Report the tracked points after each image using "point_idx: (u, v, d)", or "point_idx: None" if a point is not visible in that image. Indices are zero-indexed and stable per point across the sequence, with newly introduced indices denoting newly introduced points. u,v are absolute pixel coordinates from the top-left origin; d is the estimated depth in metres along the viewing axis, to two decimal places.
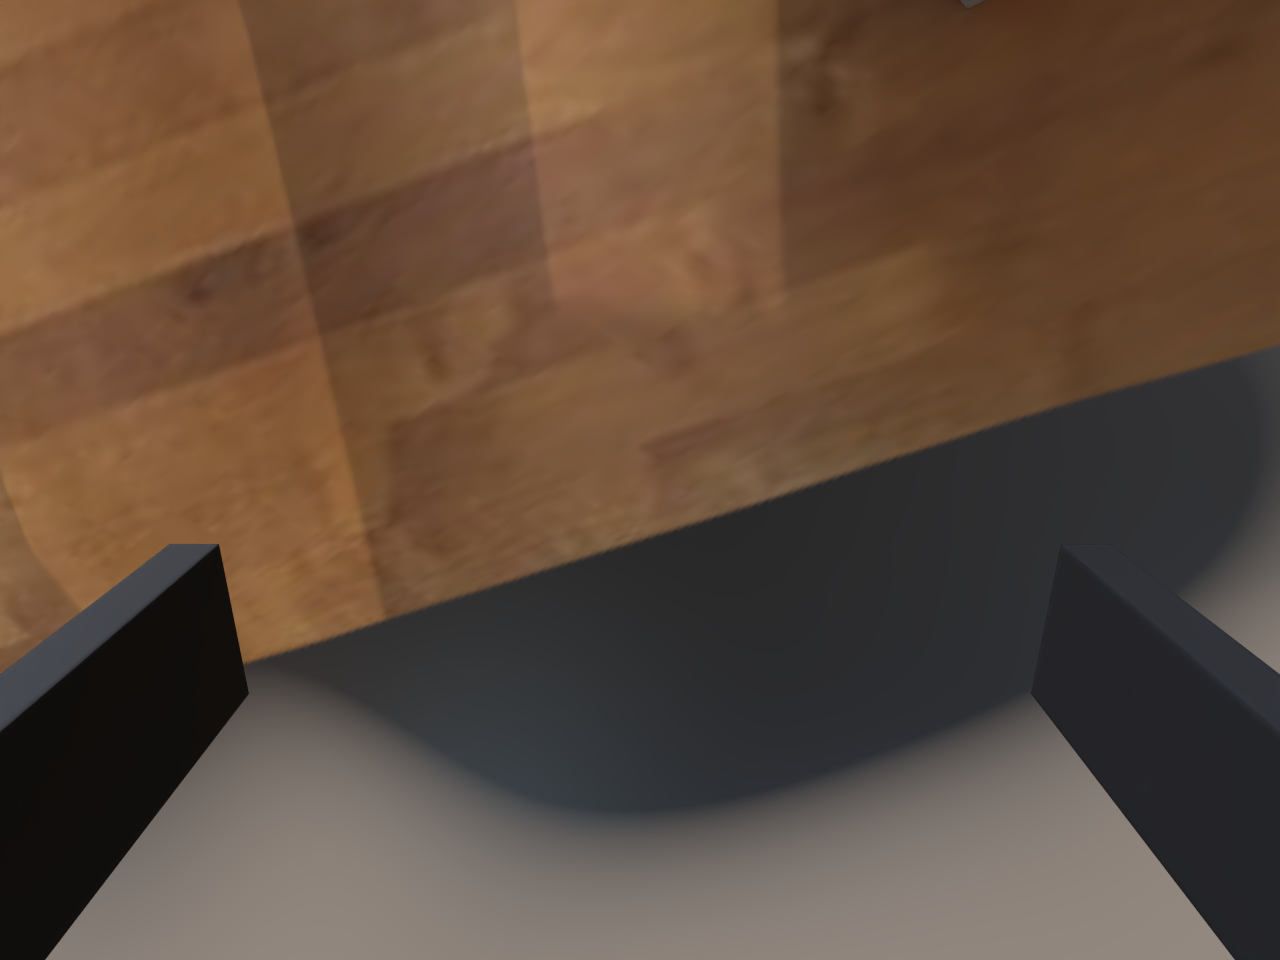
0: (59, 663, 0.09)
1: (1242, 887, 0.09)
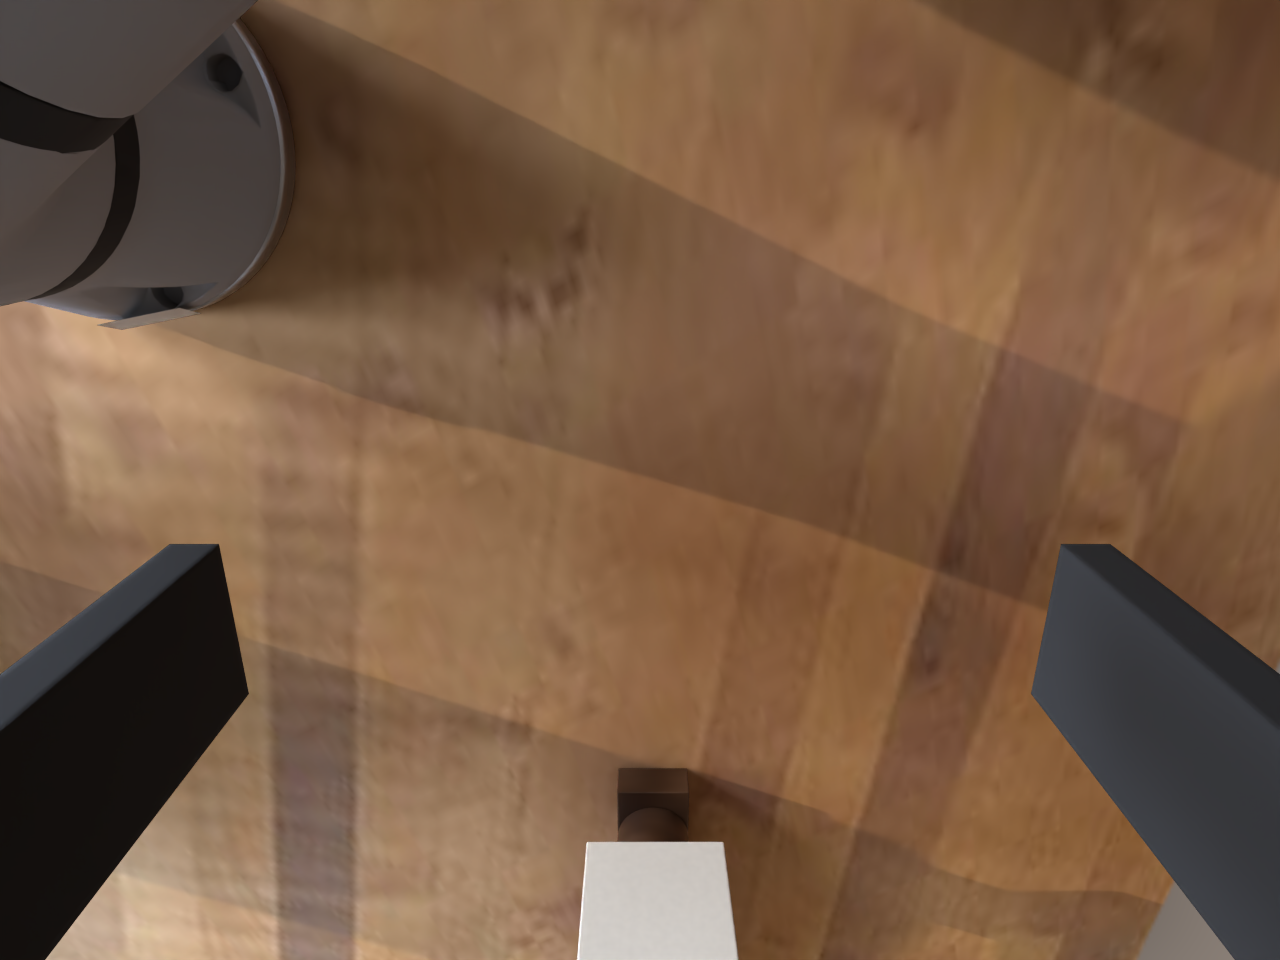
0: (59, 663, 0.09)
1: (1242, 888, 0.09)
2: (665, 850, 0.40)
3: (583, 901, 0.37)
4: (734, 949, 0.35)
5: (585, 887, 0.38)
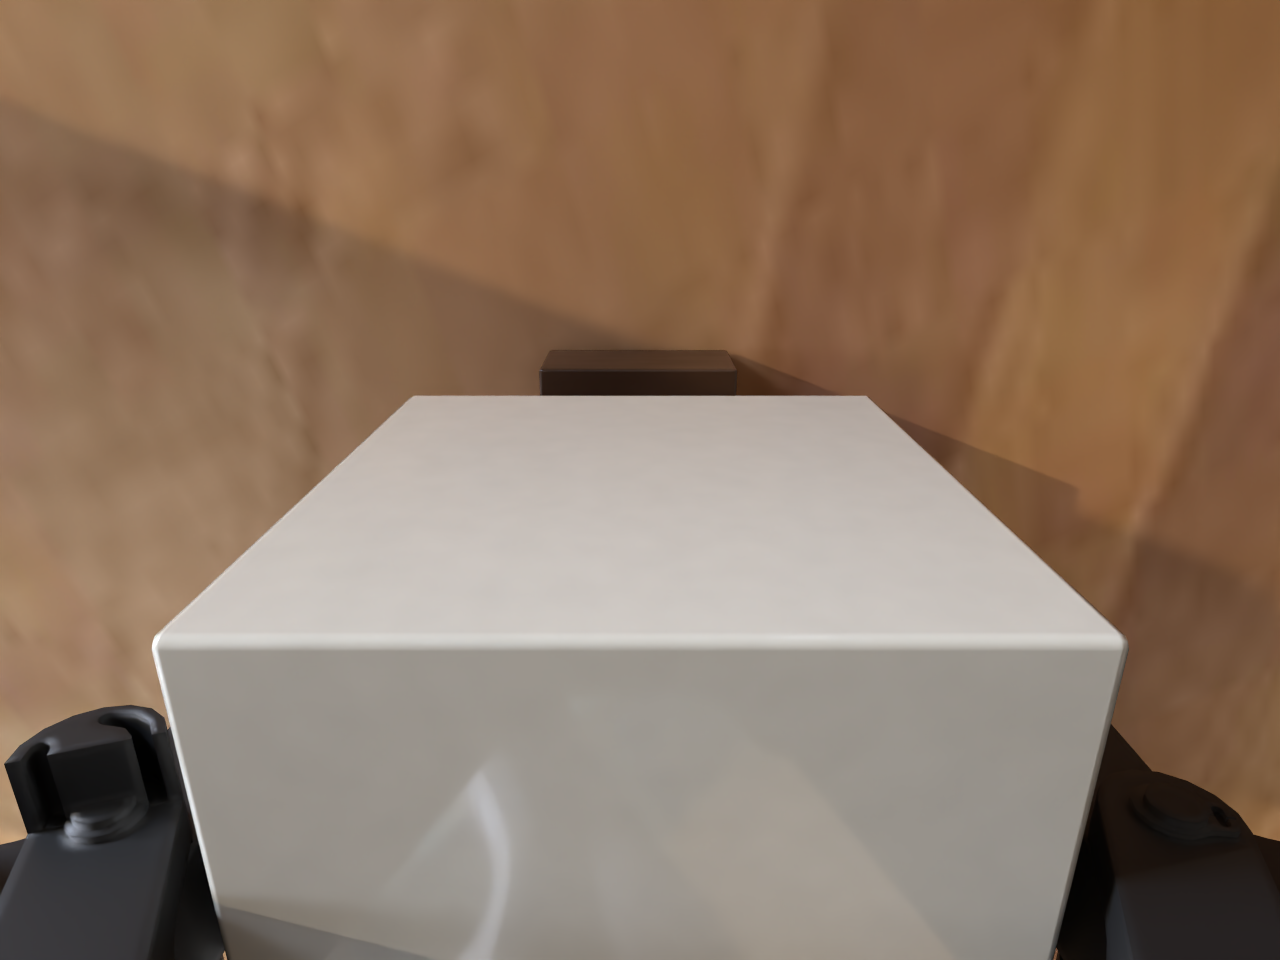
0: None
1: None
2: (674, 405, 0.12)
3: (327, 477, 0.09)
4: (1056, 583, 0.06)
5: (356, 454, 0.10)
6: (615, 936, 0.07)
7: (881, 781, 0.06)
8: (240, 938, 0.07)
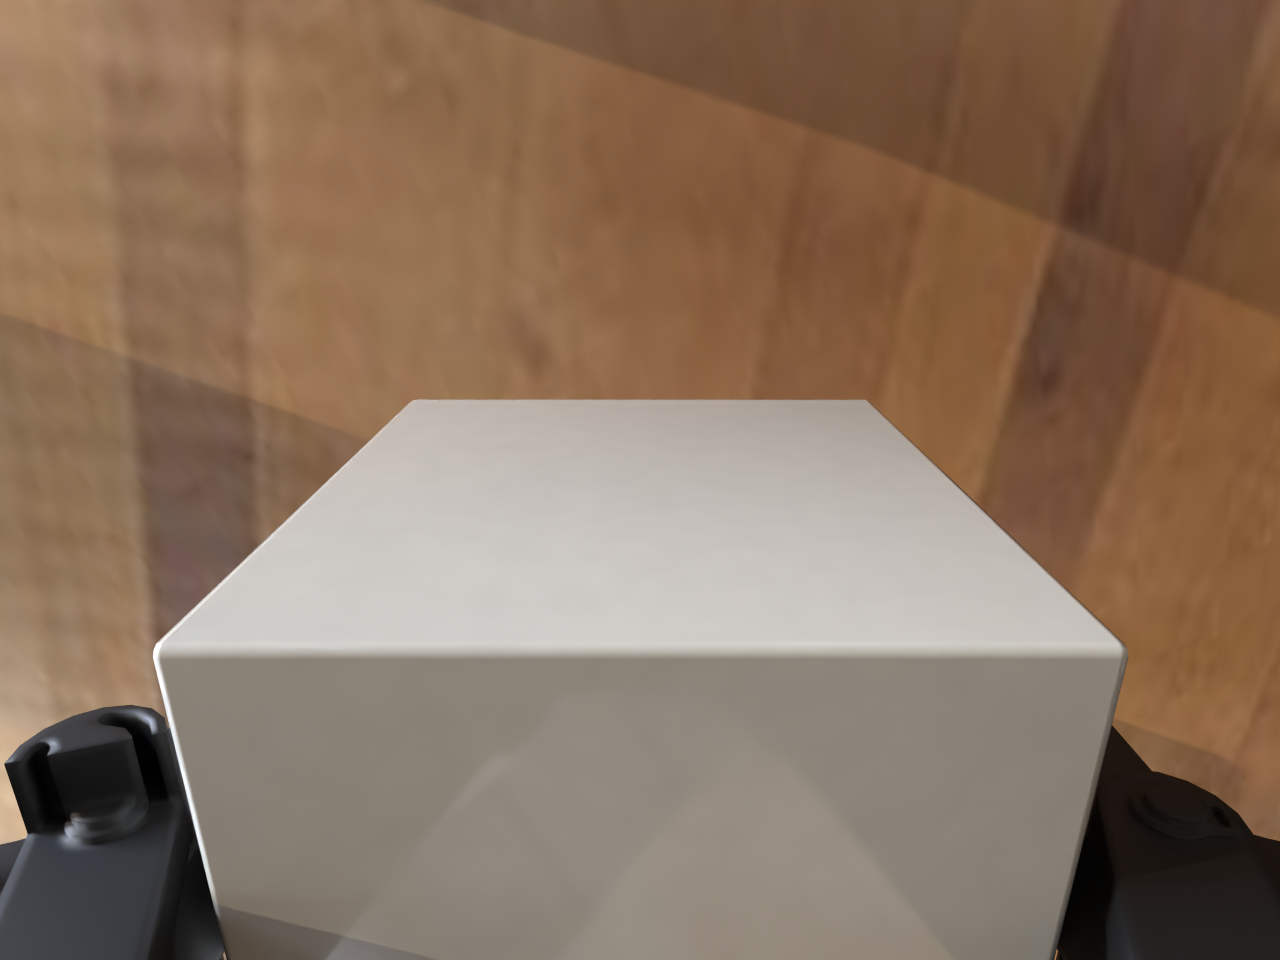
0: None
1: None
2: (674, 409, 0.12)
3: (328, 482, 0.09)
4: (1055, 592, 0.06)
5: (356, 459, 0.10)
6: (617, 942, 0.07)
7: (880, 788, 0.06)
8: (242, 944, 0.07)
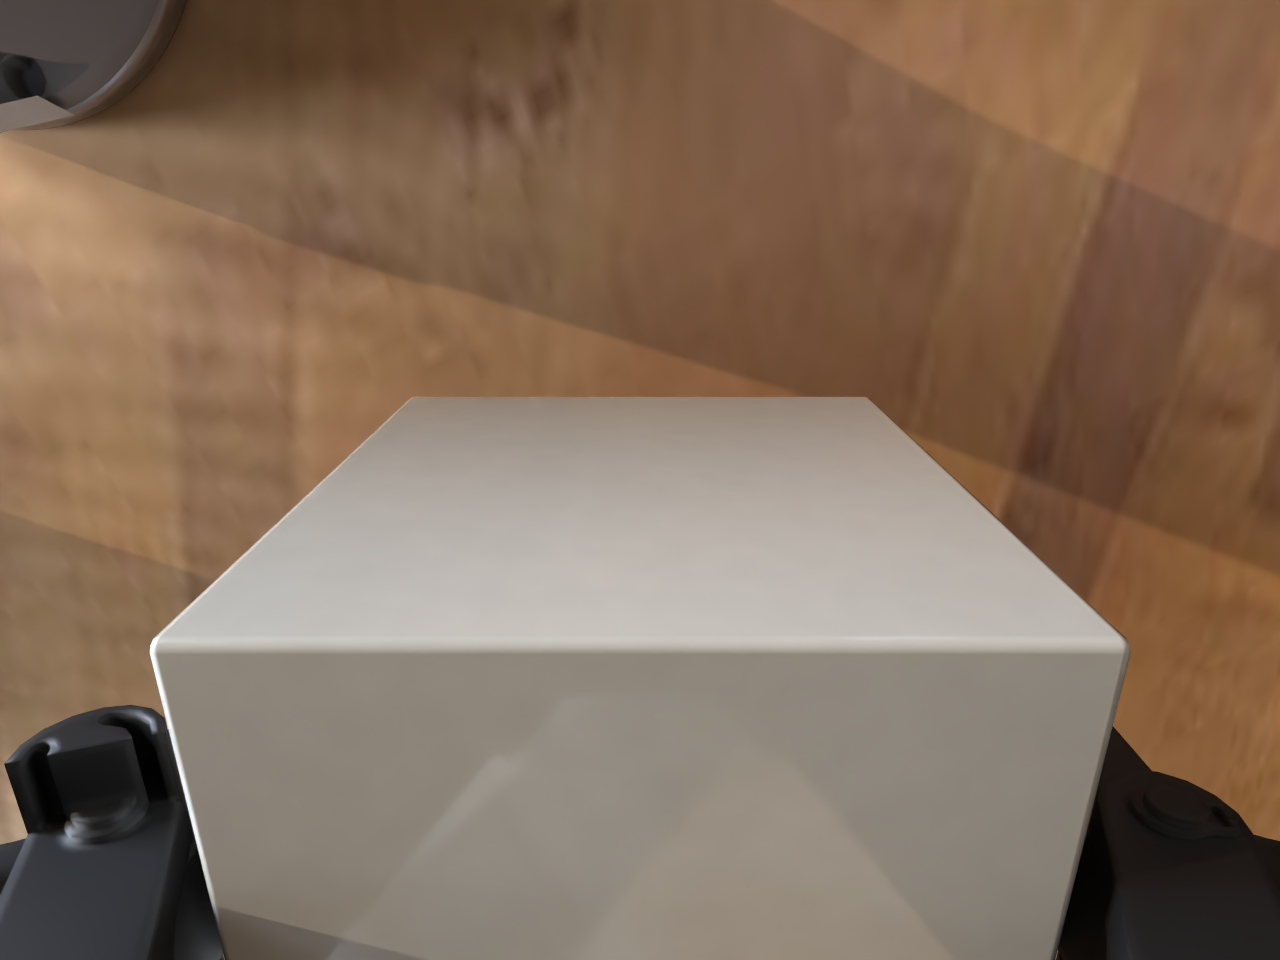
0: None
1: None
2: (674, 406, 0.12)
3: (327, 478, 0.09)
4: (1057, 586, 0.06)
5: (355, 456, 0.10)
6: (615, 940, 0.07)
7: (882, 784, 0.06)
8: (239, 942, 0.07)
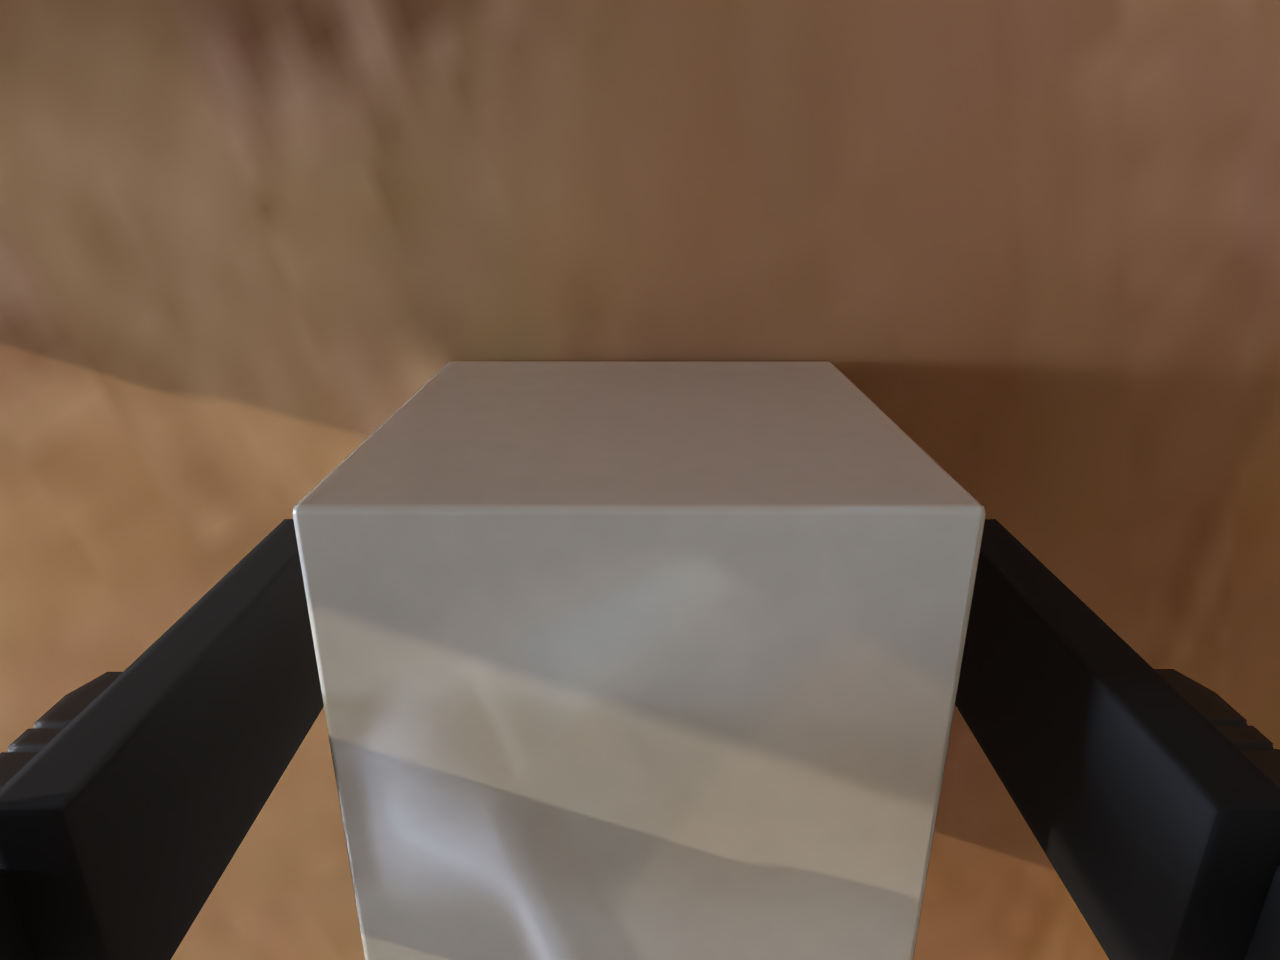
0: (219, 620, 0.10)
1: (1070, 819, 0.09)
2: (668, 368, 0.14)
3: (392, 415, 0.11)
4: (944, 479, 0.09)
5: (411, 401, 0.12)
6: (621, 741, 0.09)
7: (812, 616, 0.08)
8: (343, 742, 0.09)
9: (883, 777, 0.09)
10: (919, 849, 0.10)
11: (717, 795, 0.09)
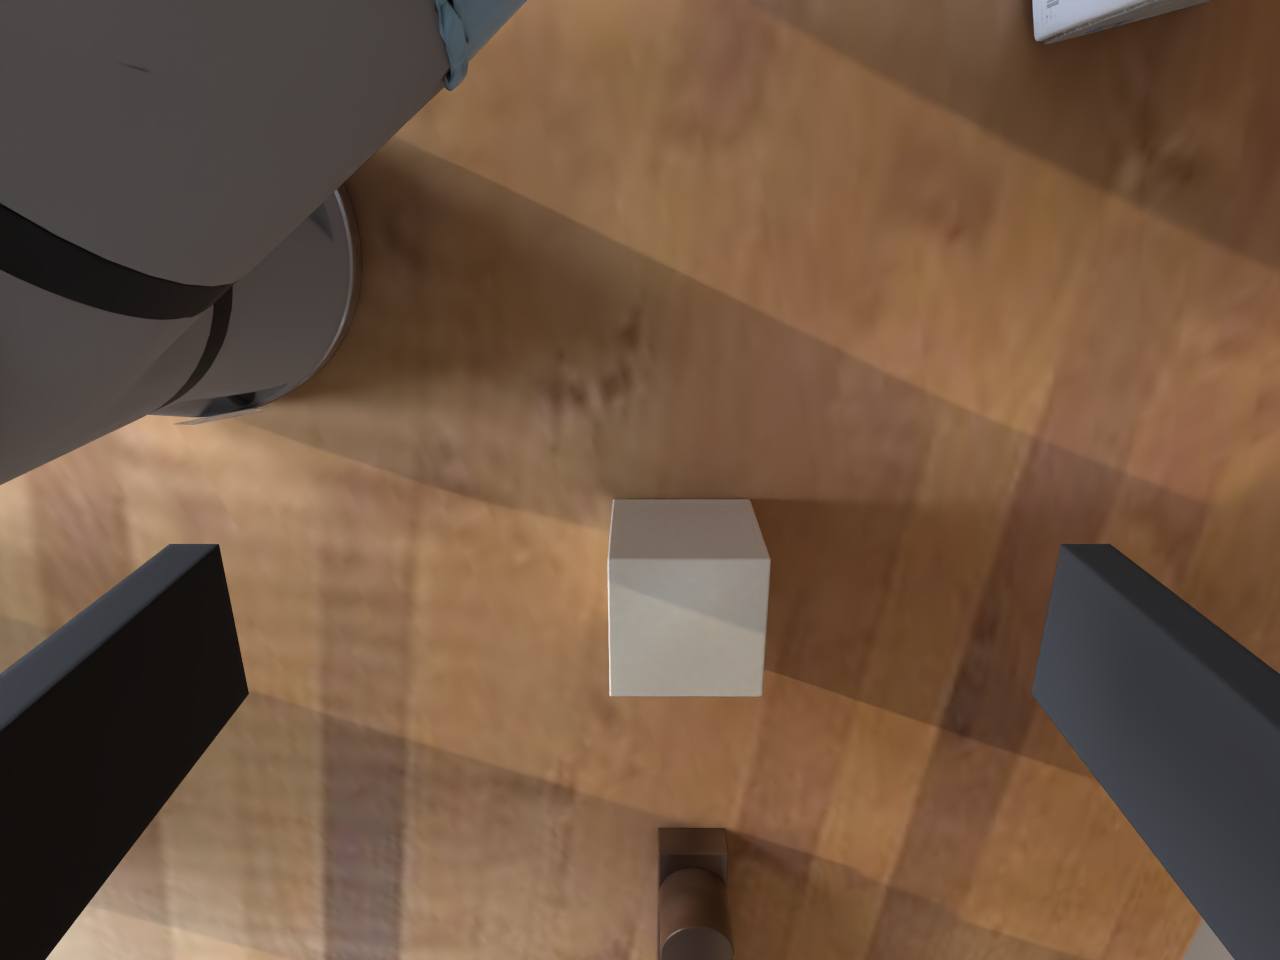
0: (59, 663, 0.09)
1: (1241, 888, 0.09)
2: (692, 503, 0.40)
3: (612, 527, 0.37)
4: (764, 550, 0.35)
5: (613, 521, 0.38)
6: (683, 617, 0.35)
7: (730, 584, 0.35)
8: (612, 617, 0.35)
9: (750, 627, 0.35)
10: (761, 648, 0.36)
11: (707, 632, 0.35)
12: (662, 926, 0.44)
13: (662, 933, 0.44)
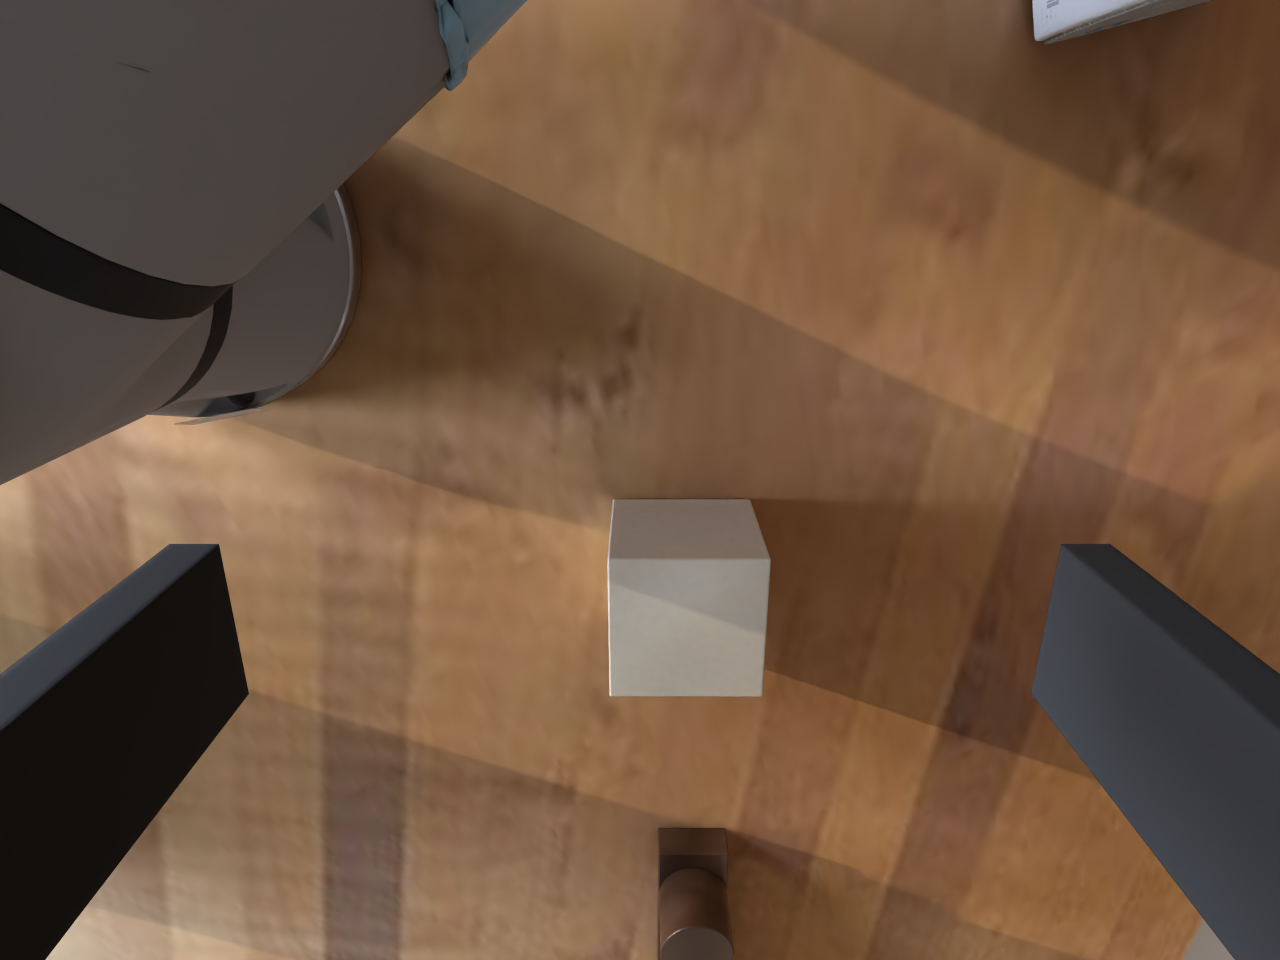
0: (59, 663, 0.09)
1: (1241, 888, 0.09)
2: (692, 503, 0.40)
3: (611, 527, 0.37)
4: (764, 550, 0.35)
5: (613, 520, 0.38)
6: (683, 617, 0.35)
7: (730, 584, 0.35)
8: (612, 617, 0.35)
9: (750, 627, 0.35)
10: (761, 648, 0.36)
11: (707, 632, 0.35)
12: (662, 926, 0.44)
13: (662, 933, 0.44)
